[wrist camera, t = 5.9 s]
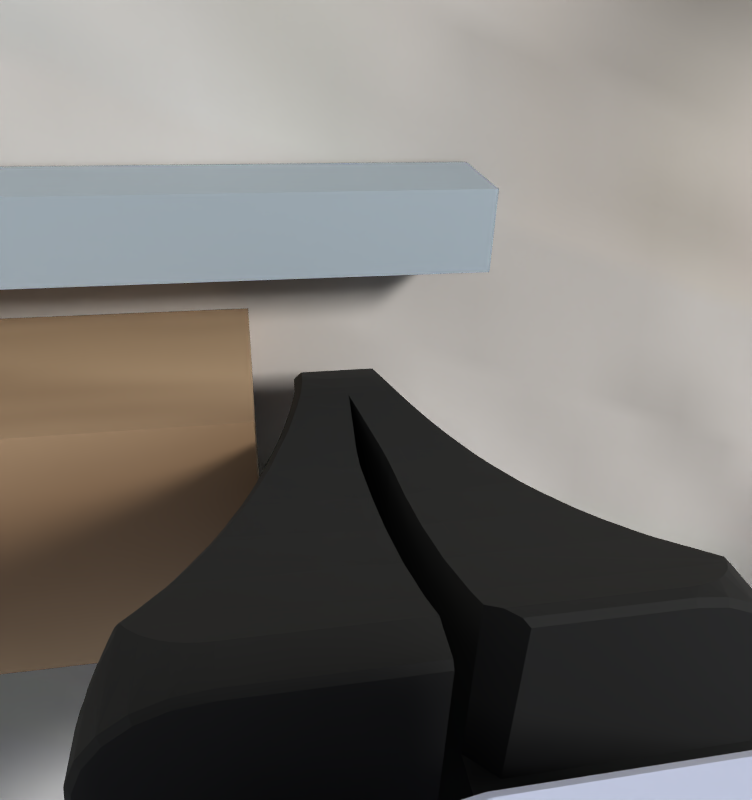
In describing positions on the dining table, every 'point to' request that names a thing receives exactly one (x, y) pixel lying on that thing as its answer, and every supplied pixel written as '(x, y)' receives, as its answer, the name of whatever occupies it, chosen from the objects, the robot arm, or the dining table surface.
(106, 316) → the tan block
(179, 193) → the jig
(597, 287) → the dining table surface
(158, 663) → the robot arm
